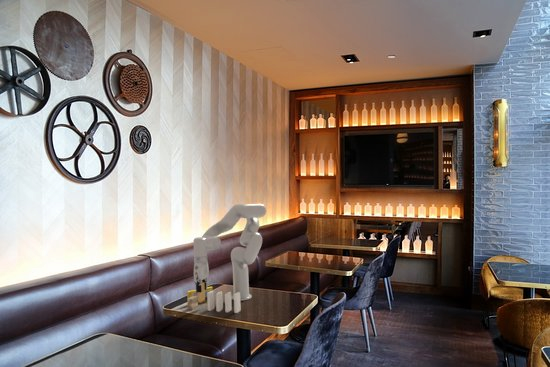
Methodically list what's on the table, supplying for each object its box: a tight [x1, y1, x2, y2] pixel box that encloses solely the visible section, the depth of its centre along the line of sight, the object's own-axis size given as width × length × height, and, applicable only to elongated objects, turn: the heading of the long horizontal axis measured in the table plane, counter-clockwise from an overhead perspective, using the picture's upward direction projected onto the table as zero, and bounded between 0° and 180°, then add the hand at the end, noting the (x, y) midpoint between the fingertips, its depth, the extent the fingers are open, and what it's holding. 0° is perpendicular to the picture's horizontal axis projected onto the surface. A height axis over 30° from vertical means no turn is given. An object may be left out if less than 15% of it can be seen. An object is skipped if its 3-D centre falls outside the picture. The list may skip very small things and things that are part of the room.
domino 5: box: [233, 292, 242, 314], centre depth 219 cm, size 2×5×10 cm, turn 161°
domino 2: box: [206, 290, 215, 312], centre depth 225 cm, size 2×5×10 cm, turn 161°
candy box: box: [186, 286, 214, 306], centre depth 239 cm, size 16×2×8 cm, turn 126°
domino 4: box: [224, 291, 233, 313], centre depth 221 cm, size 2×5×10 cm, turn 161°
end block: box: [187, 296, 199, 311], centre depth 228 cm, size 3×6×6 cm, turn 161°
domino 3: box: [215, 290, 224, 313], centre depth 223 cm, size 2×5×10 cm, turn 161°
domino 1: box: [198, 281, 205, 303], centre depth 226 cm, size 2×5×10 cm, turn 161°
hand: (201, 290), depth 226 cm, fingers closed on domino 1, 4 cm apart
